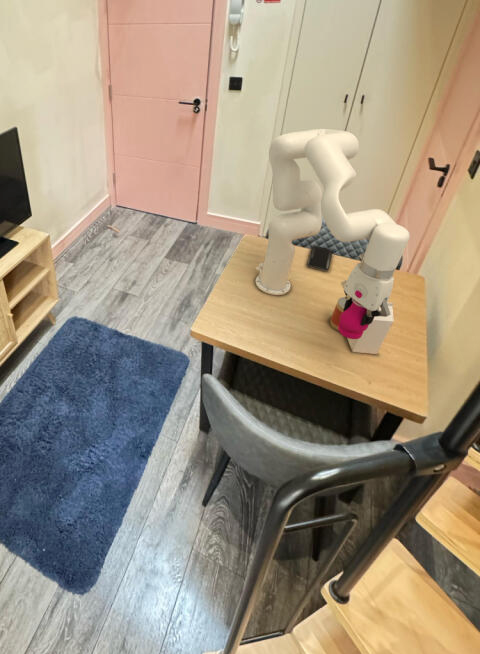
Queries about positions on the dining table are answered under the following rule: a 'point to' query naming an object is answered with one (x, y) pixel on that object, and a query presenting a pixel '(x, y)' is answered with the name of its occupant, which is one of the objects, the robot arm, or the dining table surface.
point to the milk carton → (373, 334)
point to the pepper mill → (353, 319)
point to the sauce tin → (337, 313)
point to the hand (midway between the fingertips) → (356, 316)
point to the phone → (320, 258)
